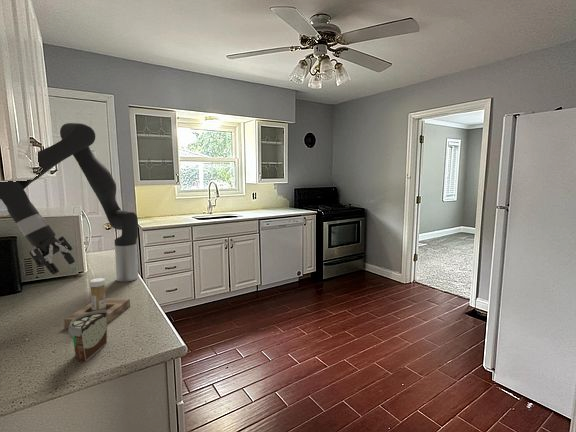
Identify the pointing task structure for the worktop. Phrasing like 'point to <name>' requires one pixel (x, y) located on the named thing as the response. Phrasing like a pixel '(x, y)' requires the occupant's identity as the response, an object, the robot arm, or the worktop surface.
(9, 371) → the worktop surface
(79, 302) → the worktop surface
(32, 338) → the worktop surface
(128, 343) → the worktop surface
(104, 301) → the sprinkles bottle
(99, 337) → the food container
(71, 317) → the walnut caddy
